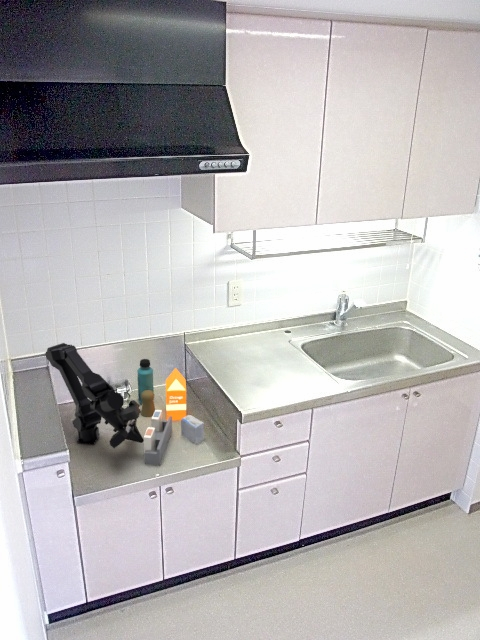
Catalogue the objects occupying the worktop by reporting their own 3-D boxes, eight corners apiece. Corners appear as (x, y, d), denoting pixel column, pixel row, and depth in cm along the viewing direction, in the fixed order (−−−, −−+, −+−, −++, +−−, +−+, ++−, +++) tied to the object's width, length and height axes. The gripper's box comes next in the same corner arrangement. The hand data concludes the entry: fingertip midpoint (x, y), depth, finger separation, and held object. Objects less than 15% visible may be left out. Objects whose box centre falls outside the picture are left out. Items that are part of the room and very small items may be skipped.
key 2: (152, 441, 201) (151, 418, 196) (156, 432, 206) (155, 409, 202) (159, 442, 200) (158, 419, 196) (162, 432, 206) (162, 409, 202)
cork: (149, 409, 222) (148, 386, 217) (159, 415, 218) (158, 391, 214) (137, 416, 217) (136, 392, 213) (147, 422, 214) (146, 397, 210)
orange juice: (166, 423, 214) (165, 378, 205) (166, 410, 222) (165, 367, 213) (186, 422, 215) (186, 378, 206) (185, 410, 223) (185, 366, 214)
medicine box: (204, 442, 204) (204, 422, 200) (195, 447, 201) (195, 427, 197) (189, 433, 209) (189, 413, 205) (180, 438, 205) (180, 418, 202)
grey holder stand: (139, 466, 190) (138, 447, 187) (153, 432, 208) (152, 414, 205) (160, 468, 189) (159, 449, 186) (172, 434, 208) (171, 416, 204)
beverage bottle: (149, 397, 230) (147, 355, 222) (157, 404, 226) (156, 361, 217) (135, 402, 226) (133, 359, 218) (143, 409, 222) (141, 366, 214)
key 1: (144, 461, 191) (143, 436, 186) (148, 450, 196) (147, 426, 192) (151, 461, 190) (150, 437, 186) (155, 451, 196) (154, 427, 192)
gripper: (116, 415, 176) (151, 446, 180) (133, 385, 193) (164, 414, 197) (94, 433, 180) (129, 463, 184) (112, 402, 197) (143, 430, 200)
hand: (142, 441), depth 191 cm, fingers closed
